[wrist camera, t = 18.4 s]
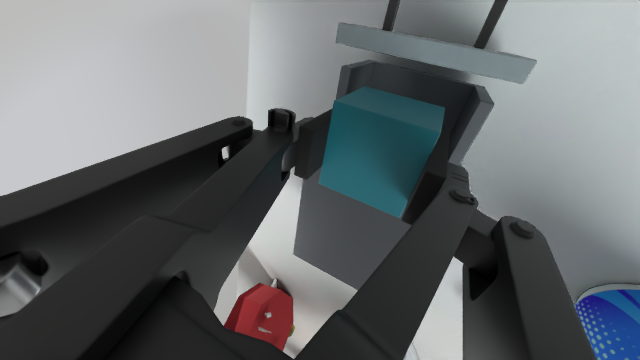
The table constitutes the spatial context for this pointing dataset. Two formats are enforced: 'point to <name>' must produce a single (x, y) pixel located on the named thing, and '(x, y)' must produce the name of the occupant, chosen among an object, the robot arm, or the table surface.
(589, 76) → the table surface
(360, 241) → the drawer cabinet
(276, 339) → the alarm clock
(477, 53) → the sliding drawer
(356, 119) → the teal wooden cube
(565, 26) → the table surface
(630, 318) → the beer can
